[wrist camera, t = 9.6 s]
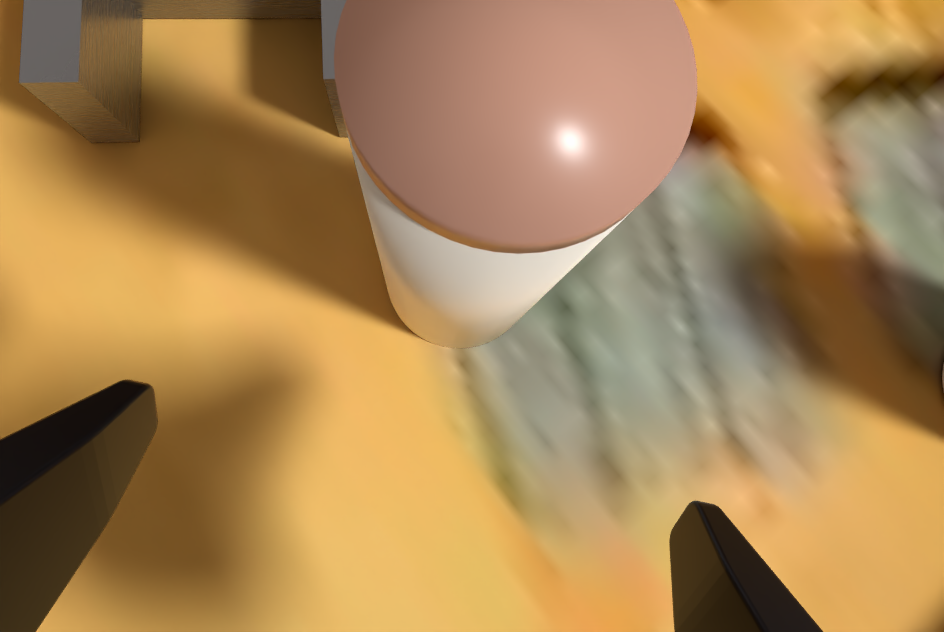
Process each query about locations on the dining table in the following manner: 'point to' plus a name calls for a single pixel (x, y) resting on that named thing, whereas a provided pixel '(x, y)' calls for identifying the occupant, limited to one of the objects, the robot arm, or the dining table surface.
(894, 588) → the dining table surface
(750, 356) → the dining table surface
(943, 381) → the supplement bottle
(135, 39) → the bracket
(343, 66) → the mushroom
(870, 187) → the dining table surface
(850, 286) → the dining table surface
